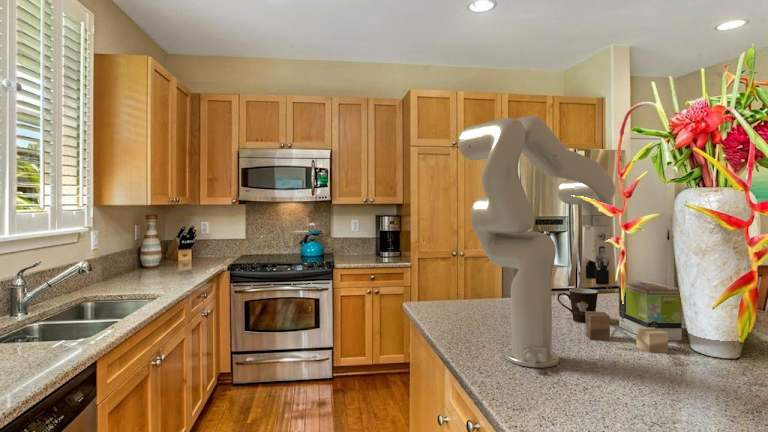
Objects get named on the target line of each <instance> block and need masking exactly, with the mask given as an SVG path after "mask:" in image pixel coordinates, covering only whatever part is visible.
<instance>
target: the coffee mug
mask: <svg viewBox="0 0 768 432" xmlns="http://www.w3.org/2000/svg"><path fill="white" fill-rule="evenodd" d="M568 292H569V293H567V292H566V293H565V292H560V293H558V295H557V298H556V299H557V301H558V302H559V304H560V305H561V306H562V307H564V308H565V309H567V310H568V311H570V312H571V314H572V315H571V316H572V319H573V322H576V323H579V324H586V311H591V312H597V302H598V294H599V291H598V290H596V289H591V288H581V287H580V288H579V287H578V288H576V287H575V288H569V290H568ZM562 295H565V296H566V297H567V298H568V299H569V301H570V307H571V308H569V307H568V306H567V305H565V304H564V303H562V301H561V300H560V296H562Z"/></svg>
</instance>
